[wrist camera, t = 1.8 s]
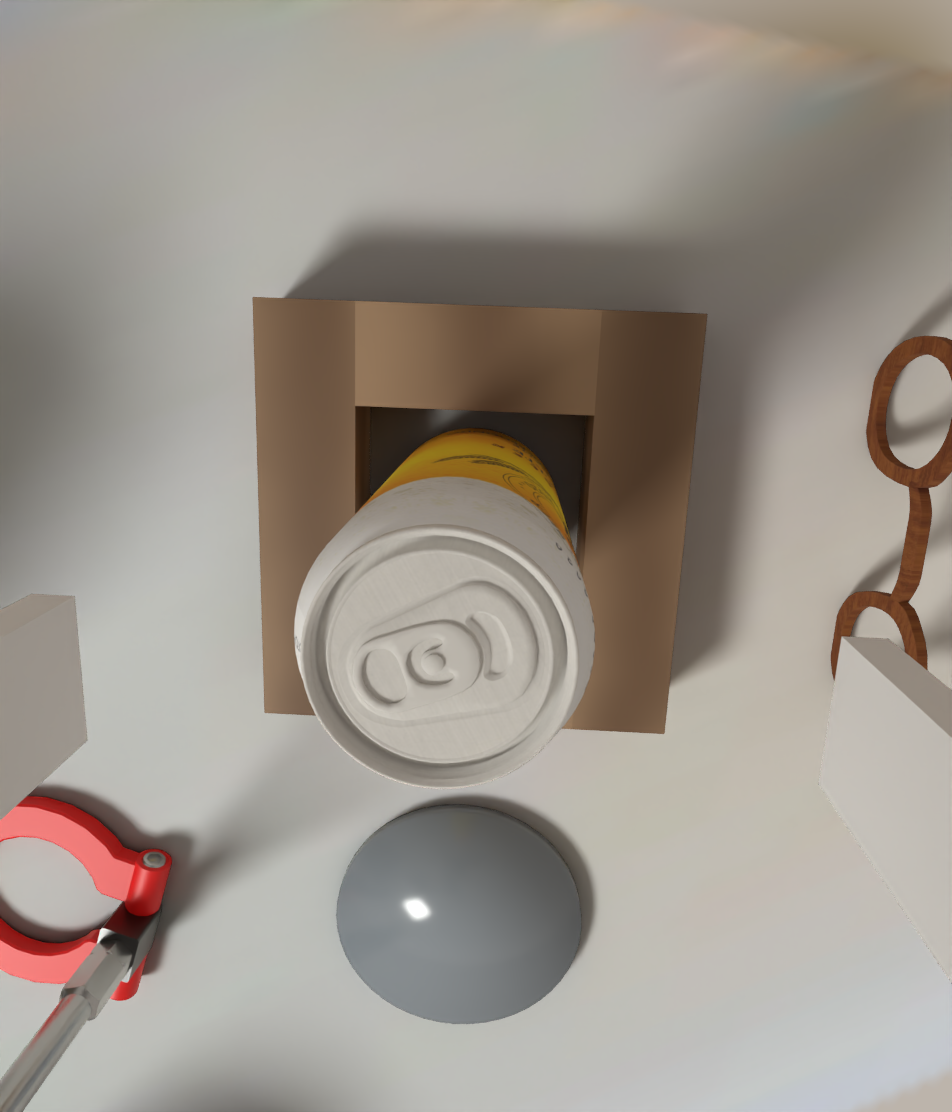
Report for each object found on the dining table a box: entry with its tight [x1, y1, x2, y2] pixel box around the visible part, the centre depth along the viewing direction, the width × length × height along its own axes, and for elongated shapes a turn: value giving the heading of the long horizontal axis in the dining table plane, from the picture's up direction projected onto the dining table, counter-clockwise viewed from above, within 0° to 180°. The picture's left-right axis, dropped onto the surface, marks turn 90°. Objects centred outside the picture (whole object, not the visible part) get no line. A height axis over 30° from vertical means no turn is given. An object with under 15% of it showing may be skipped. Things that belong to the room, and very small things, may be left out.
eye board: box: [253, 297, 707, 734], centre depth 29 cm, size 14×14×3 cm
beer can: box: [294, 428, 595, 789], centre depth 23 cm, size 6×6×15 cm
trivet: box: [336, 805, 581, 1024], centre depth 34 cm, size 10×10×1 cm
